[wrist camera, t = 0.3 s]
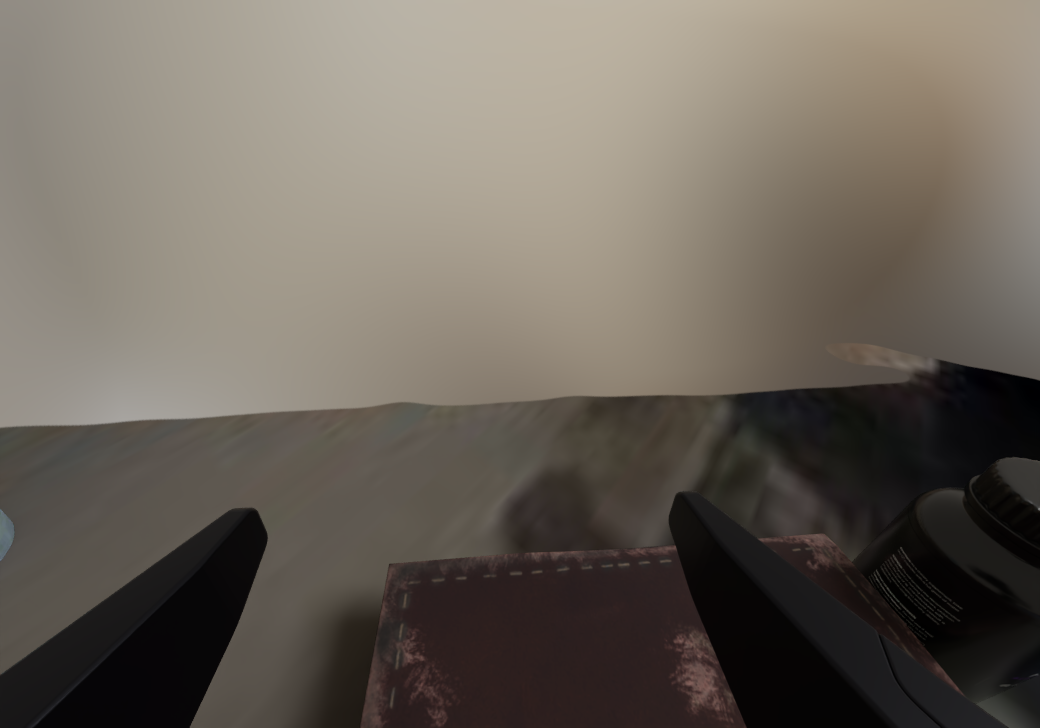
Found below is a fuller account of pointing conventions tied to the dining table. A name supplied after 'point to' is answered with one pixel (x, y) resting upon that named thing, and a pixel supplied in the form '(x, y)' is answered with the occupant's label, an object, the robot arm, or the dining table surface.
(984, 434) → the dining table surface
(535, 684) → the diary
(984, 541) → the supplement bottle
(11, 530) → the teal cup
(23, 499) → the dining table surface
